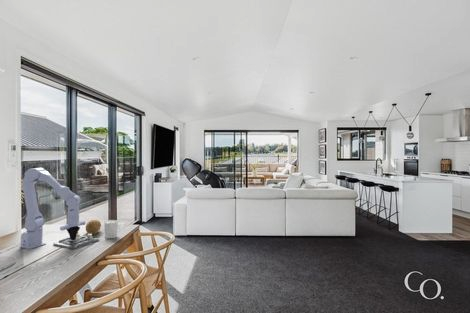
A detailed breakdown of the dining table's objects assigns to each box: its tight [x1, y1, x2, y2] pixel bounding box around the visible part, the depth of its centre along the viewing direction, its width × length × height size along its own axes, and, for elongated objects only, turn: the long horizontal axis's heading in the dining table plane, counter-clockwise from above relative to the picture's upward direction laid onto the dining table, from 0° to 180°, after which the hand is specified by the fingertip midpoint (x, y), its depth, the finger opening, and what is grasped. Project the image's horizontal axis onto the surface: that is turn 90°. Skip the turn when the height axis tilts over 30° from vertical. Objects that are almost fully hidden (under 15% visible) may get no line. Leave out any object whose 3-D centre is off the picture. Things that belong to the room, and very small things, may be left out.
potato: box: [85, 219, 102, 236], centre depth 181 cm, size 9×16×9 cm, turn 17°
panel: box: [53, 231, 100, 250], centre depth 162 cm, size 17×16×5 cm
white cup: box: [104, 219, 119, 239], centre depth 174 cm, size 8×8×10 cm
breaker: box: [72, 233, 80, 242], centre depth 161 cm, size 3×2×4 cm
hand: (72, 239), depth 159 cm, fingers closed
